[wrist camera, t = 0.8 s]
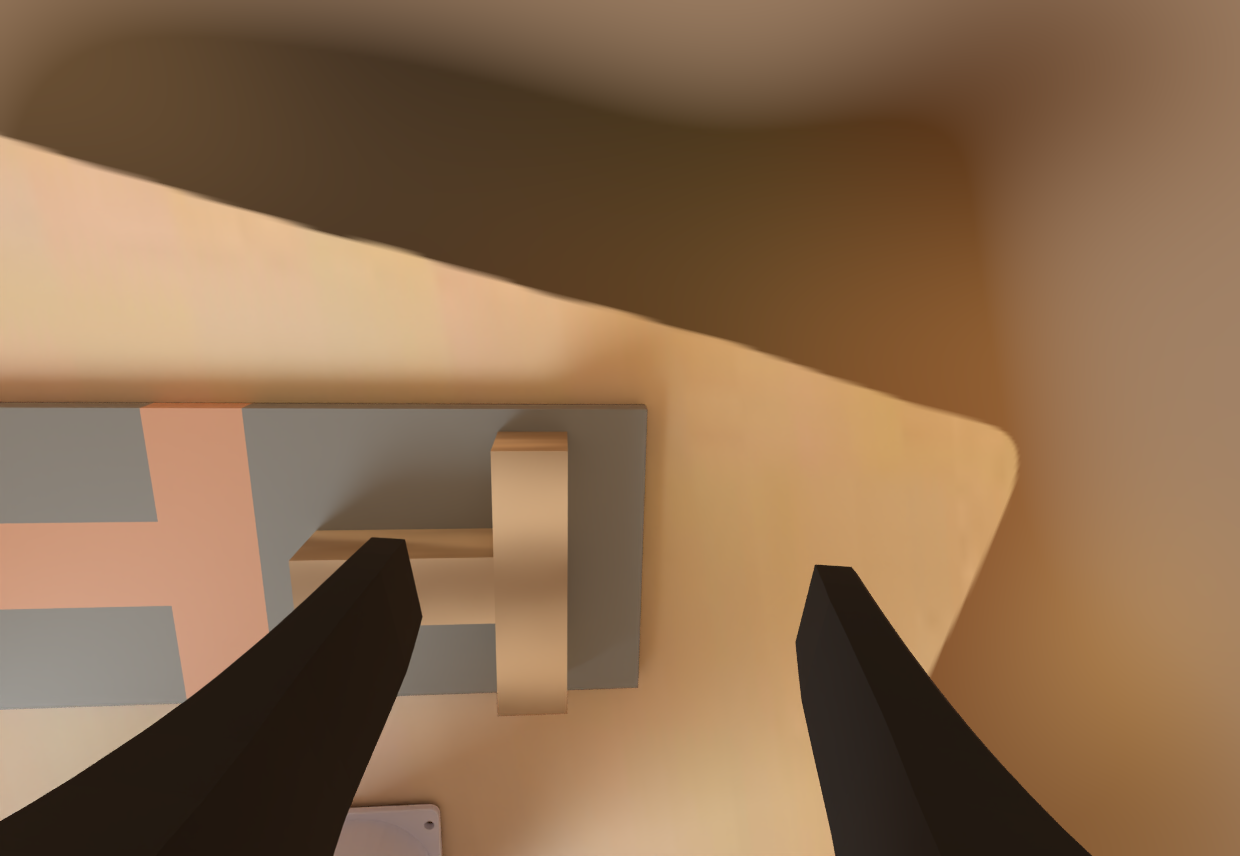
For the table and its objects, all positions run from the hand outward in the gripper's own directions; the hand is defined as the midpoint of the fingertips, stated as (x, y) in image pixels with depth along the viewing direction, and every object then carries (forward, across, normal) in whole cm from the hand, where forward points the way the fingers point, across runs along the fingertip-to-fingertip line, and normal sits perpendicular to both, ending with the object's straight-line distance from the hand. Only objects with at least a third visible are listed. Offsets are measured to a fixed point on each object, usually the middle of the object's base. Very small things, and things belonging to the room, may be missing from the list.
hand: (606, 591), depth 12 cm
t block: (+13, +8, +13) cm, 20 cm away
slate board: (+13, +16, +13) cm, 24 cm away
